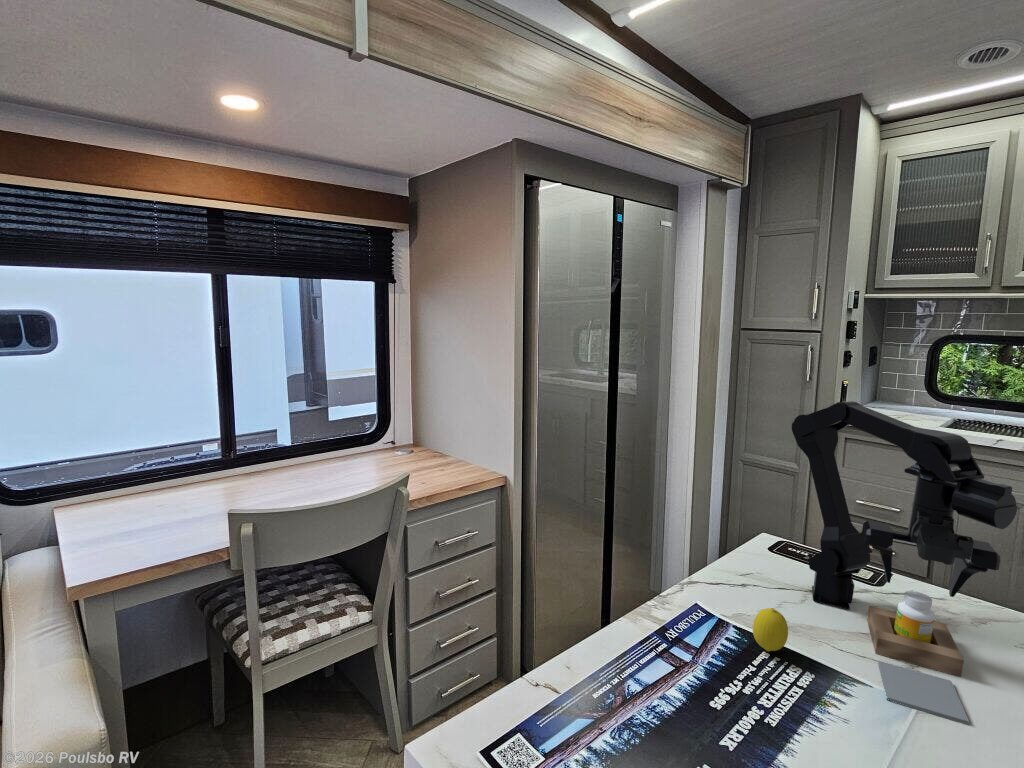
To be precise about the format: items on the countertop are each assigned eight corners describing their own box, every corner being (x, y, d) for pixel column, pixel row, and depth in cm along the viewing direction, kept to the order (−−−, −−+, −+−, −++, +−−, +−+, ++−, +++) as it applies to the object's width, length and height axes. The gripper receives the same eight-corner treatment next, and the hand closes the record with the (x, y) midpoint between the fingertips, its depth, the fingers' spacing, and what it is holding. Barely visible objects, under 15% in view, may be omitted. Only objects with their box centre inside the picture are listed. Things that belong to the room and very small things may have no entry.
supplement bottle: (884, 637, 101) (892, 588, 100) (911, 636, 102) (919, 588, 100) (908, 655, 96) (916, 604, 94) (936, 655, 96) (945, 604, 95)
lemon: (782, 645, 97) (788, 604, 96) (787, 664, 92) (792, 620, 91) (749, 638, 99) (754, 597, 98) (751, 656, 94) (756, 613, 93)
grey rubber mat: (887, 700, 84) (887, 697, 84) (877, 663, 93) (878, 660, 93) (968, 724, 80) (969, 721, 80) (950, 683, 89) (951, 680, 89)
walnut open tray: (875, 653, 96) (877, 637, 96) (866, 619, 107) (869, 605, 106) (960, 676, 91) (963, 660, 90) (942, 638, 101) (945, 623, 101)
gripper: (876, 509, 92) (862, 595, 94) (1020, 534, 83) (1002, 628, 86) (867, 489, 101) (855, 568, 104) (996, 510, 93) (980, 595, 96)
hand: (919, 588), depth 97 cm, fingers open, 9 cm apart
